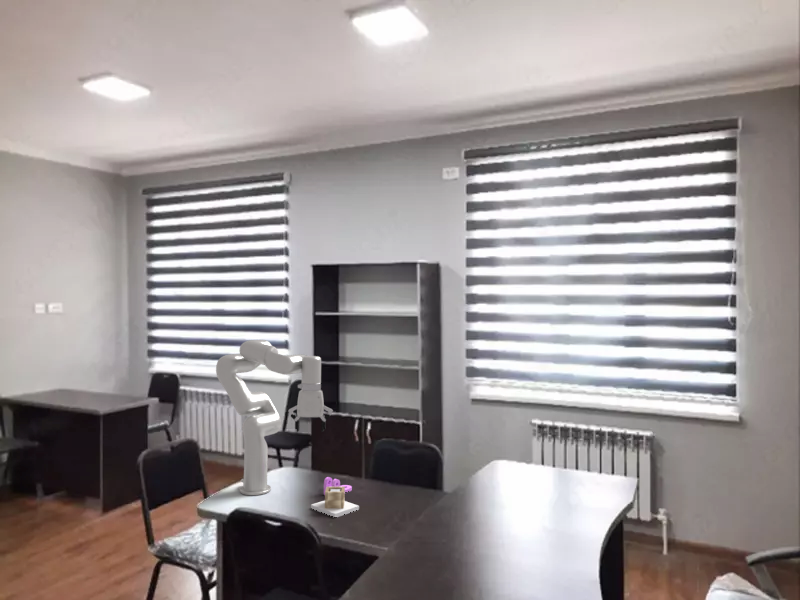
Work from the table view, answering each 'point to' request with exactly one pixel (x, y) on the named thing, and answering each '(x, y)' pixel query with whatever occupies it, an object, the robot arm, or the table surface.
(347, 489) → the bracket
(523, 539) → the table surface
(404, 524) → the table surface
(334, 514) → the plate
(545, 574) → the table surface
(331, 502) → the wooden collar
